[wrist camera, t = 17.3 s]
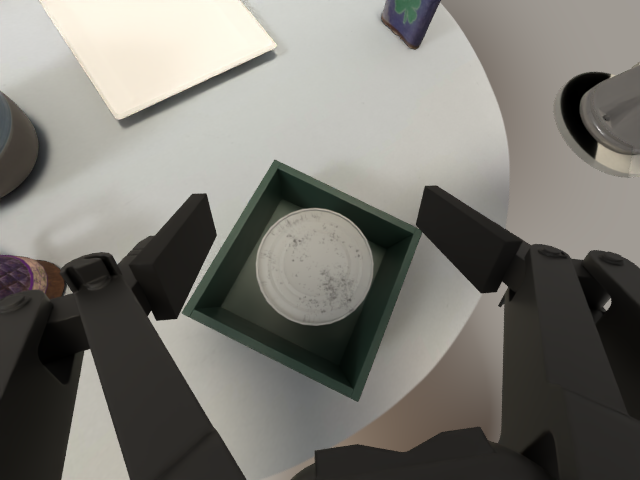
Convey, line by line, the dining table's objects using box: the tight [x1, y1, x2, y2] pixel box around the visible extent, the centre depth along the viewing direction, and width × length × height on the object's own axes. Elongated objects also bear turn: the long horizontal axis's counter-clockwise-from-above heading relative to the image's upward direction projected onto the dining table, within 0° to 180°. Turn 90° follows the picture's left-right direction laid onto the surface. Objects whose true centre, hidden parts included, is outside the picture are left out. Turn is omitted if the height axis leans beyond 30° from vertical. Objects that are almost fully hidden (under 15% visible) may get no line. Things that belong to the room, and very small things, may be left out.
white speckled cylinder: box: [256, 208, 374, 326], centre depth 26 cm, size 10×10×12 cm
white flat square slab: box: [39, 0, 277, 120], centre depth 39 cm, size 26×26×2 cm
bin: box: [182, 160, 422, 402], centre depth 28 cm, size 18×18×9 cm
